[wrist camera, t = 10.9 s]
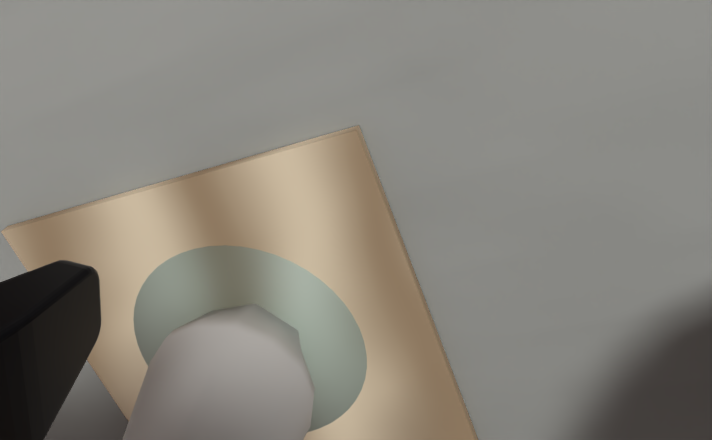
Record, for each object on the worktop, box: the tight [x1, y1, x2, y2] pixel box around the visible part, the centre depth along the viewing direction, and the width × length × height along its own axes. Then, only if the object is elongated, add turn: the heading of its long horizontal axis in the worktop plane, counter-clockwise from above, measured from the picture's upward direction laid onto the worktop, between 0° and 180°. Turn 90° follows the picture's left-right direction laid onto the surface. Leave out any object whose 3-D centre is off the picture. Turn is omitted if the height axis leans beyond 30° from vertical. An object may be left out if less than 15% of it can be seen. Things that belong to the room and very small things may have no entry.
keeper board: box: [1, 125, 478, 440], centre depth 25 cm, size 14×14×1 cm
